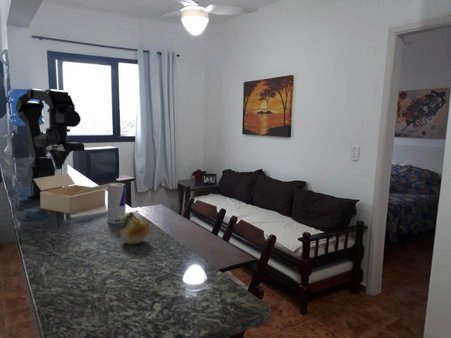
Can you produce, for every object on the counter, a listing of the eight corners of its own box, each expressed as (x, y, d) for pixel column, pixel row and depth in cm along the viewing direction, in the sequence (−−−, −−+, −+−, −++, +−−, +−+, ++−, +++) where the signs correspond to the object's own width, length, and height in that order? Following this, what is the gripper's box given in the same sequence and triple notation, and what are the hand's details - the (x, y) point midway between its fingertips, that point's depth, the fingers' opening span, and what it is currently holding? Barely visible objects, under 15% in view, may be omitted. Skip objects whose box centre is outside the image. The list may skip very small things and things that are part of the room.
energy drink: (128, 220, 107) (129, 183, 105) (118, 224, 102) (118, 186, 100) (114, 218, 108) (115, 182, 107) (103, 222, 103) (103, 184, 102)
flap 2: (83, 189, 108) (83, 189, 108) (113, 182, 122) (114, 183, 122) (72, 194, 110) (73, 195, 110) (104, 187, 124) (104, 188, 124)
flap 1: (41, 190, 114) (41, 190, 114) (75, 183, 128) (74, 184, 128) (33, 178, 115) (33, 179, 115) (68, 173, 129) (67, 174, 129)
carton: (39, 209, 114) (39, 191, 114) (76, 199, 130) (76, 184, 129) (71, 214, 110) (71, 197, 109) (105, 204, 125) (105, 188, 124)
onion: (121, 249, 82) (121, 218, 81) (117, 239, 90) (118, 210, 89) (151, 246, 86) (152, 216, 84) (146, 236, 93) (146, 209, 92)
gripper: (18, 124, 114) (19, 169, 116) (60, 126, 108) (60, 174, 110) (45, 124, 124) (46, 166, 126) (85, 127, 118) (85, 170, 120)
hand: (58, 169), depth 120 cm, fingers closed
